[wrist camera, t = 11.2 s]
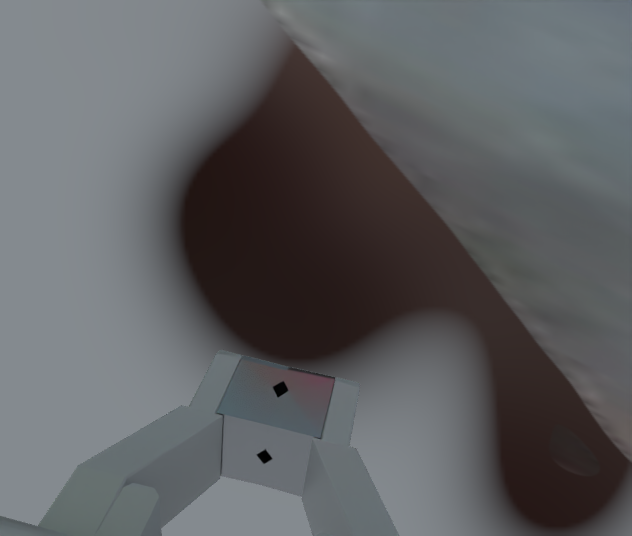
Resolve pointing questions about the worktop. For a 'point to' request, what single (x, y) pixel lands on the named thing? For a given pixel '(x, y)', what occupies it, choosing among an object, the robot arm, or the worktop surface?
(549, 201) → the worktop surface
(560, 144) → the worktop surface
